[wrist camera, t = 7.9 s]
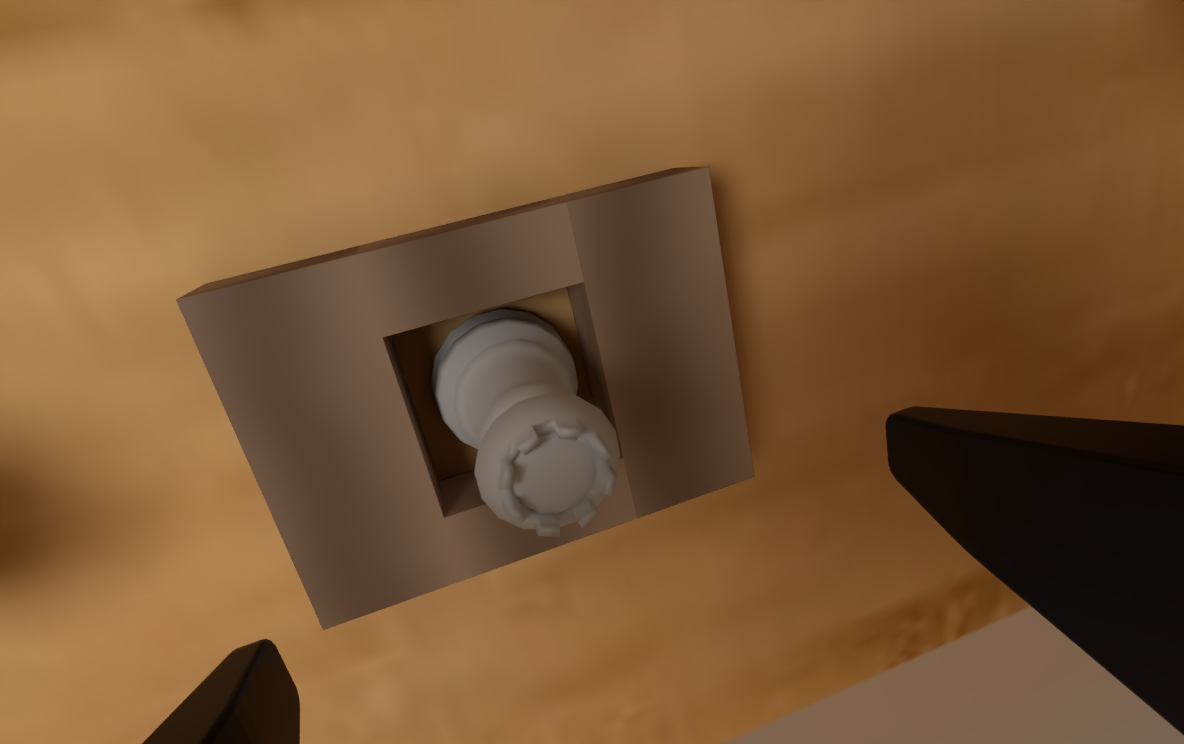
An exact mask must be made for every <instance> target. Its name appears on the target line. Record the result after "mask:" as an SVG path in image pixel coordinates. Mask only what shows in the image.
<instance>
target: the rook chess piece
mask: <svg viewBox="0 0 1184 744" xmlns="http://www.w3.org/2000/svg"><path fill="white" fill-rule="evenodd" d="M431 387H432V391H433V394H434V397H435V401H436V404H437V408H438V411H439V412H440V413H441V417H442V420H443V421H444V422H445V423H446V425H447V426H448V427H449V428H450V429H451V430H452V432H453V433H454V434H455V435H456V436H457V437H458V439H459V440H460V441H462V442H464V443H466V444H468V445H470V446H472V447H474V448H476V449H478V452H477V459H476V465H475V471H474V473H475V477H476V480H477V484H478V488H479V491H480V495H481V498H482V499H483V501H484V502H485V503H486V504H487V505H488V506H489V507H490V509H491V510H492V511H493V512H494V513H495V514H496V515H497V517H498V518H500V519H502V520H504V521H506V522H509V523H511V524H513V525H515V526H517V527H520V528H522V529H535V530H536V533H537V535H538V536H549V537H560V527H562V526H565V525H568V524H571V523H574V522H577V521H578V523H579V524H580V526H581V528H582V529H584V528H585V527H586V526H588V525H589V524H590V523H592V522H593V521H594V520H596V519H597V518H598V517H600V516H601V515H600V514H599V512H598V510H597V509H596V507H597V506H598V505H600V503H601V502H602V500H603V498H604V497H605V495H608V496H612V497H613V495H614V490H615V486H616V481H617V477H618V475H617V474H616V473H617V468H618V464H619V459H620V451H619V446H618V441H617V436H616V431H615V429H614V428H613V426H612V425H611V423H610V422H609V421H608V419H607V418H606V416H605V415H604V414H603V412H602V411H601V409H599V408H597V407H595V406H594V405H592V404H590V403H588V402H587V401H585V400H583V399H581V398H580V397H578V396H576V394H577V389H578V378H577V373H576V368H575V364H574V359H573V356H572V354H571V353H570V351H569V350H568V348H567V346H566V345H565V343H564V342H563V340H562V339H561V338H560V336H559V335H558V333H557V332H556V331H555V329H554V328H553V327H552V326H551V325H549V324H547V323H546V322H544V321H542V320H541V319H539V318H537V317H536V316H534V315H532V314H531V313H527V312H521V311H514V310H507V309H499V310H495V311H491V312H487V313H482V314H478V315H474V316H472V317H471V318H470V319H468V320H467V321H466V322H464V323H463V324H461V325H460V326H459V327H457V328H456V329H454V330H453V331H452V332H450V333H449V335H448V337H447V338H446V340H445V342H444V343H443V345H442V346H441V348H440V350H439V351H438V353H437V355H436V356H435V359H434V366H433V374H432V381H431Z"/></svg>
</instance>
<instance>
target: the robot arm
mask: <svg viewBox="0 0 1184 744" xmlns="http://www.w3.org/2000/svg"><path fill="white" fill-rule="evenodd" d="M886 439H887V452H888V463H889V467H890V470H891V472H892V474H893V476H894V477H895V479H896V480H897V481H898V482H899V483H900V484H901V485H902V486H903V487H904V488H905V489H906V490H907V491H908V492H909V493H910V494H911V495H912V496H913V497H914V498H915V499H916V500H917V501H918V503H919V504H920V505H921V506H922V507H923V508H924V509H925V510H926V511H927V512H928V513H929V514H930V515H931V516H932V517H933V518H934V519H935V520H936V521H937V522H938V523H939V524H940V525H941V526H942V527H943V528H944V529H945V530H946V531H947V532H948V533H949V534H950V535H951V536H952V537H953V538H954V539H955V540H956V541H957V542H958V543H959V544H960V545H961V546H962V547H963V548H964V549H965V550H966V551H967V552H968V553H969V554H970V555H972V556H973V557H974V558H975V559H976V560H977V561H978V562H979V563H981V564H982V565H983V566H984V567H985V568H987V569H988V570H989V571H990V572H991V573H992V574H994V575H995V576H996V577H997V578H998V579H1000V580H1001V581H1002V582H1003V583H1004V584H1005V585H1007V586H1008V587H1009V588H1010V589H1011V590H1013V591H1014V592H1015V593H1016V594H1017V595H1018V596H1020V597H1021V598H1022V599H1023V600H1024V601H1026V602H1027V603H1028V604H1029V605H1030V606H1031V607H1033V608H1034V609H1035V610H1036V611H1037V612H1039V613H1040V614H1041V615H1042V616H1043V617H1044V618H1046V619H1047V620H1048V621H1049V622H1050V623H1052V624H1053V625H1054V626H1055V627H1056V628H1057V629H1059V630H1060V631H1061V632H1062V633H1063V634H1065V635H1066V636H1067V637H1068V638H1069V639H1070V640H1072V641H1073V642H1074V643H1075V644H1077V646H1079V647H1080V648H1081V649H1082V650H1084V651H1085V652H1086V653H1087V654H1088V655H1089V656H1091V657H1092V658H1093V659H1094V660H1095V661H1096V662H1098V663H1099V664H1100V665H1101V666H1102V667H1104V668H1105V669H1106V670H1107V671H1108V672H1109V673H1111V674H1112V675H1113V676H1114V677H1116V678H1117V679H1118V680H1119V681H1120V682H1121V683H1122V684H1124V685H1125V686H1126V687H1127V688H1128V689H1129V690H1131V691H1132V692H1133V693H1134V694H1135V695H1137V696H1138V697H1139V698H1140V699H1141V700H1142V701H1144V702H1145V703H1146V704H1147V705H1149V706H1150V707H1151V708H1152V709H1153V710H1154V711H1155V712H1157V713H1158V714H1159V715H1160V716H1161V717H1163V718H1164V719H1165V720H1166V721H1167V722H1168V723H1170V724H1171V725H1172V726H1173V727H1174V728H1176V729H1177V730H1178V731H1179V732H1180V733H1182V734H1183V735H1184V425H1170V424H1156V423H1142V422H1128V421H1113V420H1099V419H1085V418H1071V417H1057V416H1043V415H1029V414H1015V413H1001V412H986V411H972V410H958V409H944V408H930V407H909V408H906V409H903V410H901V411H898V412H895V413H893V414H891V415H890V416H889V417H888V418H887V420H886ZM142 744H300V701H299V695H298V691H297V688H296V686H295V684H294V682H293V680H292V678H291V676H290V674H289V672H288V670H287V668H286V666H285V664H284V662H283V660H282V658H281V656H280V654H279V652H278V650H277V648H276V646H275V645H274V644H273V642H272V641H270V640H268V639H263V640H259V641H257V642H254V643H251V644H248V645H246V646H243V647H240V648H237V649H235V650H234V651H232V652H231V653H230V654H229V655H228V656H227V657H226V658H225V659H224V660H223V661H222V662H221V663H220V664H219V665H218V666H217V667H216V668H215V669H214V670H213V672H212V673H211V674H210V675H209V676H208V677H207V678H206V679H205V680H204V681H203V682H202V683H201V684H200V685H199V686H198V687H197V688H196V689H195V690H194V691H193V692H192V693H191V694H190V695H189V696H188V697H187V698H186V699H185V700H184V701H183V702H182V703H181V704H180V705H179V706H178V707H177V708H176V709H175V710H174V711H173V712H172V713H171V714H170V716H169V717H168V718H167V719H166V720H165V721H164V722H163V723H162V724H161V725H160V726H159V727H158V728H157V729H156V730H155V731H154V732H153V733H152V734H151V735H150V736H149V737H148V738H147V739H146V740H145V741H144V742H143V743H142Z"/></svg>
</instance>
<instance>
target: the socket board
mask: <svg viewBox="0 0 1184 744" xmlns="http://www.w3.org/2000/svg"><path fill="white" fill-rule="evenodd" d="M564 287H567V289H568V293H569V297H570V302H571V306H572V310H573V314H574V319H575V323H576V327H577V332H578V336H579V340H580V344H581V349H582V353H583V357H584V362H585V366H586V370H587V374H588V379H589V383H590V387H591V392H592V396H593V400H594V404H595V407H597V408H599V409H601V411H602V412H603V414H604V415H605V416H606V418H607V419H608V421H609V422H610V423H611V425H612V426H613V428H614V429H615V431H616V436H617V441H618V446H619V451H620V459H619V464H618V468H617V473H616V474H617V475H618V477H617V481H616V486H615V490H614V495H613V497H612V496H608V495H605V497H604V498H603V500H602V502H601V503H600V505H598V506H597V507H596V509H597V510H598V512H599V514H600V515H601V516H600V517H598V518H597V519H596V520H594V521H593V522H592V523H590V524H589V525H588V526H586V527H585V528H584V529H582V528H581V526H580V524H579V523H578V521H577V522H574V523H571V524H568V525H565V526H562V527H560V537H549V536H538V535H537V533H536V530H535V529H522V528H520V527H517V526H515V525H513V524H511V523H509V522H506V521H504V520H502V519H500V518H498V517H497V515H496V514H495V513H494V512H493V511H492V510H491V509H490V507H489V506H488V505H487V504H486V503H485V502H484V501H483V499H482V498H481V495H480V491H479V488H478V484H477V480H476V477H475V473H474V471H475V470H472V471H469V472H466V473H463V474H460V475H457V476H454V477H451V478H448V479H444V480H441V481H439V479H438V476H437V473H436V470H435V467H434V464H433V461H432V458H431V455H430V452H429V449H428V446H427V443H426V440H425V437H424V434H423V431H422V428H421V425H420V422H419V419H418V417H417V414H416V411H415V408H414V405H413V402H412V399H411V396H410V393H409V390H408V387H407V384H406V381H405V378H404V375H403V372H402V369H401V366H400V363H399V360H398V357H397V354H396V351H395V348H394V345H393V342H392V339H391V336H390V335H393V334H397V333H401V332H404V331H408V330H411V329H415V328H419V327H422V326H426V325H430V324H433V323H437V322H440V321H444V320H448V319H451V318H455V317H459V316H462V315H466V314H469V313H473V312H477V311H480V310H484V309H488V308H491V307H495V306H498V305H502V304H506V303H509V302H513V301H517V300H520V299H524V298H527V297H531V296H535V295H538V294H542V293H546V292H549V291H553V290H556V289H560V288H564ZM176 301H177V303H178V305H179V307H180V310H181V312H182V314H183V316H184V319H185V321H186V323H187V325H188V328H189V330H190V332H191V334H192V337H193V339H194V341H195V343H196V346H197V348H198V350H199V352H200V355H201V357H202V359H203V361H204V364H205V366H206V368H207V370H208V373H209V375H210V377H211V379H212V381H213V384H214V386H215V388H216V390H217V393H218V395H219V397H220V399H221V402H222V404H223V406H224V408H225V411H226V413H227V415H228V417H229V420H230V422H231V424H232V426H233V429H234V431H235V433H236V435H237V438H238V440H239V442H240V444H241V447H242V449H243V451H244V453H245V456H246V458H247V460H248V462H249V465H250V467H251V469H252V471H253V473H254V476H255V478H256V480H257V482H258V485H259V487H260V489H261V491H262V494H263V496H264V498H265V500H266V503H267V505H268V507H269V509H270V512H271V514H272V516H273V518H274V521H275V523H276V525H277V527H278V530H279V532H280V534H281V536H282V539H283V541H284V543H285V545H286V548H287V550H288V552H289V554H290V556H291V559H292V561H293V563H294V565H295V568H296V570H297V572H298V574H299V577H300V579H301V581H302V583H303V586H304V588H305V590H306V592H307V595H308V597H309V599H310V601H311V604H312V606H313V608H314V610H315V613H316V615H317V617H318V619H319V622H320V624H321V626H322V628H323V630H325V629H328V628H330V627H333V626H336V625H339V624H342V623H344V622H347V621H350V620H353V619H356V618H358V617H361V616H364V615H367V614H370V613H373V612H375V611H378V610H381V609H384V608H387V607H389V606H392V605H395V604H398V603H401V602H403V601H406V600H409V599H412V598H415V597H417V596H420V595H423V594H426V593H429V592H432V591H434V590H437V589H440V588H443V587H446V586H448V585H451V584H454V583H457V582H460V581H462V580H465V579H468V578H471V577H474V576H476V575H479V574H482V573H485V572H488V571H491V570H493V569H496V568H499V567H502V566H505V565H507V564H510V563H513V562H516V561H519V560H521V559H524V558H527V557H530V556H533V555H536V554H538V553H541V552H544V551H547V550H550V549H552V548H555V547H558V546H561V545H564V544H566V543H569V542H572V541H575V540H578V539H580V538H583V537H586V536H589V535H592V534H595V533H597V532H600V531H603V530H606V529H609V528H611V527H614V526H617V525H620V524H623V523H625V522H628V521H631V520H634V519H637V518H639V517H642V516H645V515H648V514H651V513H654V512H656V511H659V510H662V509H665V508H668V507H670V506H673V505H676V504H679V503H682V502H684V501H687V500H690V499H693V498H696V497H699V496H701V495H704V494H707V493H710V492H713V491H715V490H718V489H721V488H724V487H727V486H729V485H732V484H735V483H738V482H741V481H743V480H746V479H749V478H752V477H755V476H754V470H753V463H752V456H751V449H750V443H749V436H748V429H747V422H746V416H745V409H744V402H743V395H742V389H741V382H740V375H739V368H738V362H737V355H736V348H735V341H734V335H733V328H732V321H731V314H730V308H729V301H728V294H727V287H726V281H725V274H724V267H723V260H722V254H721V247H720V240H719V233H718V227H717V220H716V213H715V206H714V200H713V193H712V186H711V179H710V173H709V167H689V168H672V169H668V170H664V171H660V172H656V173H652V174H648V175H644V176H640V177H636V178H632V179H628V180H624V181H620V182H616V183H612V184H608V185H604V186H599V187H595V188H591V189H587V190H583V191H579V192H575V193H571V194H567V195H563V196H559V197H555V198H551V199H547V200H543V201H539V202H535V203H531V204H527V205H523V206H519V207H515V208H511V209H506V210H502V211H498V212H494V213H490V214H486V215H482V216H478V217H474V218H470V219H466V220H462V221H458V222H454V223H450V224H446V225H442V226H438V227H434V228H430V229H426V230H422V231H418V232H414V233H409V234H405V235H401V236H397V237H393V238H389V239H385V240H381V241H377V242H373V243H369V244H365V245H361V246H357V247H353V248H349V249H345V250H341V251H337V252H333V253H329V254H325V255H321V256H317V257H312V258H308V259H304V260H300V261H296V262H292V263H288V264H284V265H280V266H276V267H272V268H268V269H264V270H260V271H256V272H252V273H248V274H244V275H240V276H236V277H232V278H228V279H224V280H220V281H215V282H211V283H207V284H204V285H202V286H201V287H199V288H197V289H195V290H193V291H191V292H189V293H188V294H186V295H184V296H182V297H180V298H178V299H176Z"/></svg>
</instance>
